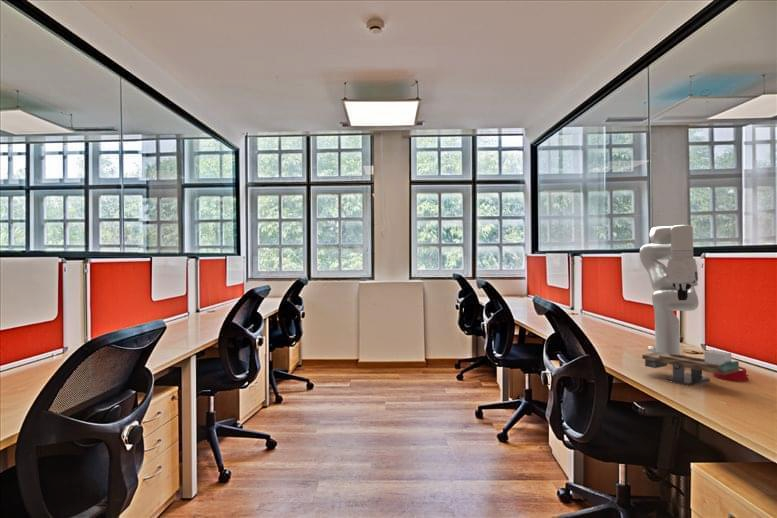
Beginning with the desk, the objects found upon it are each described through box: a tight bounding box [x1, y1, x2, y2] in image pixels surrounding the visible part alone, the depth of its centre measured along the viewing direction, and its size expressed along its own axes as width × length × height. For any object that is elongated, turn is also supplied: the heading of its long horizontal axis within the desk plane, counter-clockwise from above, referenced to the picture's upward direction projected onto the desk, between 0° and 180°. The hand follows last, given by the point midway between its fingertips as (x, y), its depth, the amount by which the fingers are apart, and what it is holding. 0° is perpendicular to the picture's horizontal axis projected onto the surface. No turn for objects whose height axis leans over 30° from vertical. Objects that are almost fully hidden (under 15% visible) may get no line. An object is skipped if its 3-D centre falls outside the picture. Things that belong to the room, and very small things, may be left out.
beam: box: [641, 352, 740, 375], centre depth 159 cm, size 28×10×6 cm, turn 28°
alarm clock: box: [713, 366, 750, 382], centre depth 163 cm, size 10×6×15 cm
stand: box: [665, 364, 711, 387], centre depth 159 cm, size 8×15×7 cm, turn 118°
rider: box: [704, 349, 732, 367], centre depth 150 cm, size 6×5×5 cm
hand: (682, 300), depth 172 cm, fingers closed
